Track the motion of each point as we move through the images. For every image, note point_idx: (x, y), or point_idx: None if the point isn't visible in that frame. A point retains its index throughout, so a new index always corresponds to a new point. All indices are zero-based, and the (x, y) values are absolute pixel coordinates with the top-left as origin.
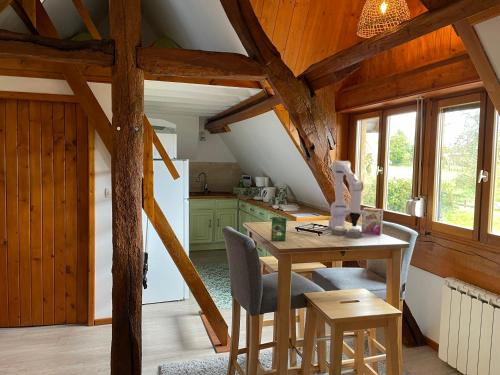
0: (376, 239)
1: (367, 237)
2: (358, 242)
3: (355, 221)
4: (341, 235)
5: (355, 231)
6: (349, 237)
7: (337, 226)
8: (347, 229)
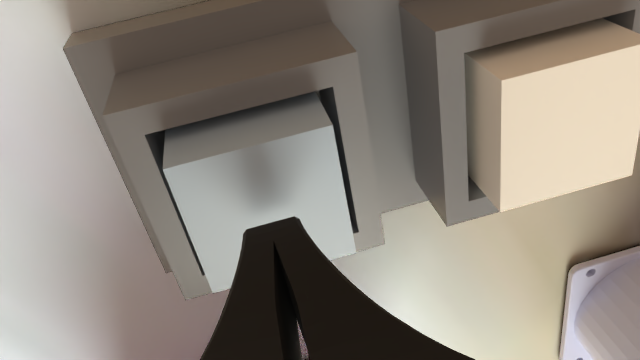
0: (82, 353)
1: None
2: (30, 2)
3: (221, 316)
4: (415, 3)
5: (179, 148)
6: (253, 28)
7: (624, 133)
8: (445, 220)
